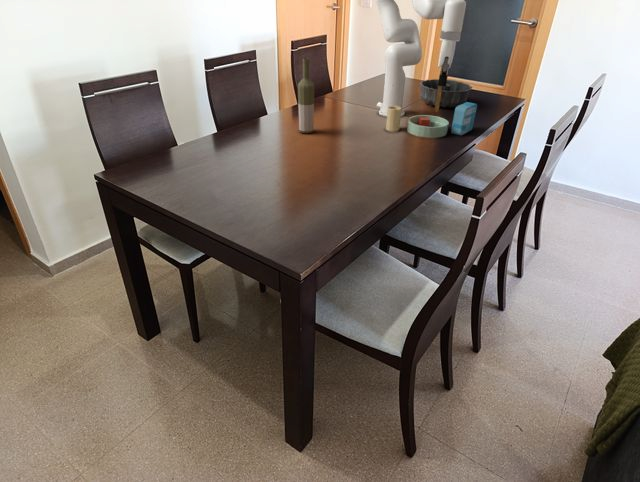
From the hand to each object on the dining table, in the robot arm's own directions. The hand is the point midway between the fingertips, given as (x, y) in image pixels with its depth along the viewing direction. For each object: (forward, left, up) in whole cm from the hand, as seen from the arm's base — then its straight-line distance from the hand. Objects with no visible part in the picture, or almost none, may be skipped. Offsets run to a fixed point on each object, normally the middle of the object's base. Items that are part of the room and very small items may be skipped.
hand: (441, 84), depth 175 cm
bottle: (-41, -38, -21) cm, 59 cm away
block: (-8, +3, -20) cm, 22 cm away
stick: (-1, 0, -11) cm, 11 cm away
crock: (-16, -9, -21) cm, 28 cm away
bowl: (-4, 0, -21) cm, 21 cm away
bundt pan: (-23, +46, -21) cm, 55 cm away
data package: (+7, +11, -21) cm, 25 cm away
